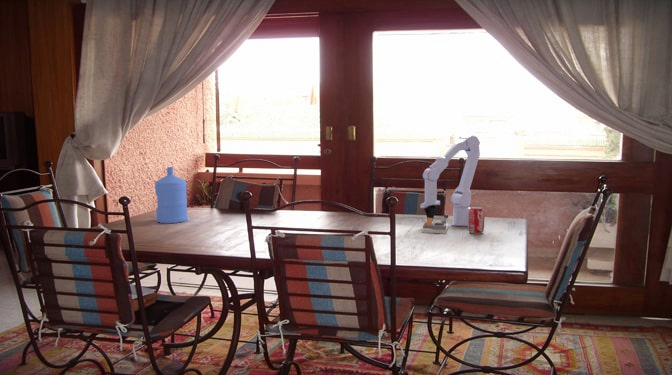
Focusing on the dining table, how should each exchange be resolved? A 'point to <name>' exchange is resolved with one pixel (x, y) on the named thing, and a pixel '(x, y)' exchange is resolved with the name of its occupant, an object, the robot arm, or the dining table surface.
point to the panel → (435, 228)
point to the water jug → (171, 198)
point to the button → (439, 224)
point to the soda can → (476, 220)
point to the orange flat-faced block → (429, 221)
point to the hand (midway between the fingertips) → (430, 221)
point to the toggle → (445, 217)
